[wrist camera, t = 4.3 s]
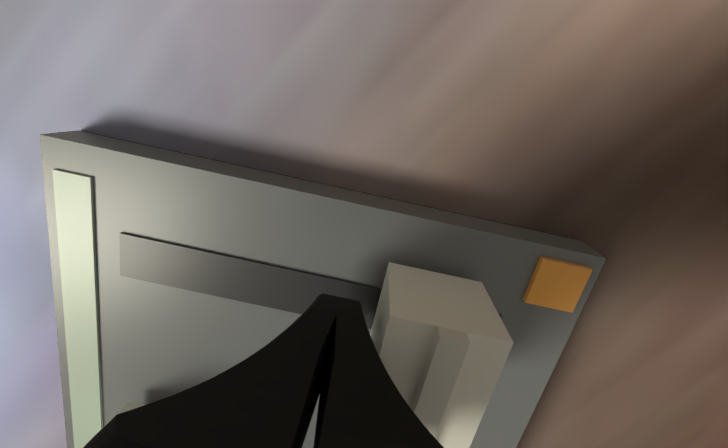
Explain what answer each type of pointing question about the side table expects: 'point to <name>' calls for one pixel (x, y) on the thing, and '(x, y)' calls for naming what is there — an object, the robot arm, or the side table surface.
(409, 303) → the block
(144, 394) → the panel
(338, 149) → the side table surface
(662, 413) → the side table surface
